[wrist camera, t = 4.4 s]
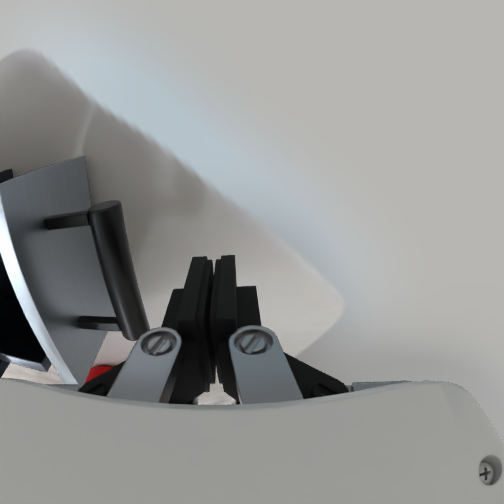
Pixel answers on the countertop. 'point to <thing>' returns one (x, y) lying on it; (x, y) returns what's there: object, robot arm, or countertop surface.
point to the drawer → (63, 272)
